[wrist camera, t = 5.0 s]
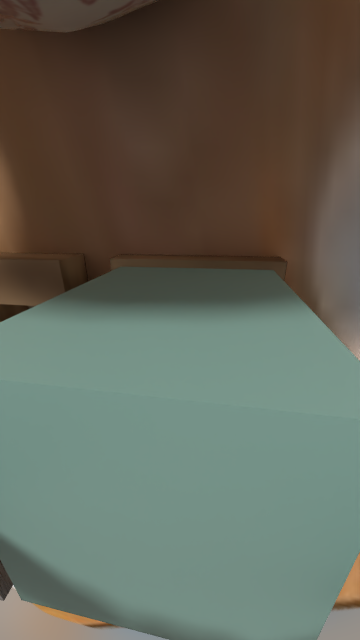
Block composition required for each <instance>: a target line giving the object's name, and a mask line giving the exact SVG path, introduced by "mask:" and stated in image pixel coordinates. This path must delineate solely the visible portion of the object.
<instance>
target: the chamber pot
mask: <svg viewBox="0 0 360 640" xmlns="http://www.w3.org/2000/svg"><path fill="white" fill-rule="evenodd" d="M156 1H158V0H0V28H2V29H18V30H35V31H52V32H72V31H76V30H80V29H84V28H88V27H92V26H96V25H101V24H104V23H107V22H109V21H111V20H114V19H116V18H118V17H121V16H123V15H125V14H128V13H130V12H132V11H135V10H137V9H140V8H142V7H144V6H147V5H149V4H151V3H154V2H156Z"/></svg>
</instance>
